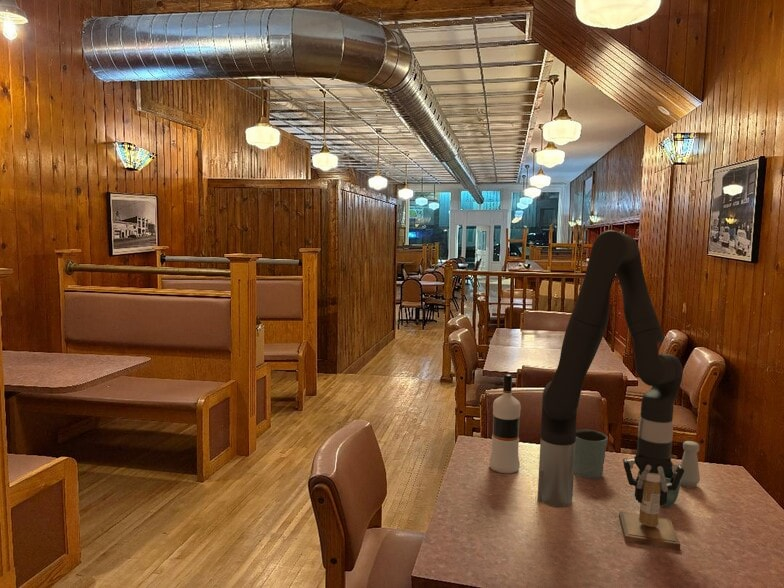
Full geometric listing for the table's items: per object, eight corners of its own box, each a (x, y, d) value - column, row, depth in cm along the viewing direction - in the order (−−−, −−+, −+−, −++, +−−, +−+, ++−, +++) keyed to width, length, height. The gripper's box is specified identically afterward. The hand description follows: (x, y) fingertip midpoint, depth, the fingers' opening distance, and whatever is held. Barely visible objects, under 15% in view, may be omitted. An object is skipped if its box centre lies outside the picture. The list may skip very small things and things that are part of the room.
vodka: (484, 463, 176) (487, 371, 173) (511, 460, 178) (515, 370, 175) (496, 476, 167) (500, 379, 164) (524, 473, 169) (529, 377, 166)
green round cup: (570, 476, 168) (572, 438, 166) (570, 463, 177) (572, 427, 176) (606, 481, 165) (609, 442, 163) (604, 467, 174) (606, 431, 173)
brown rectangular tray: (624, 541, 133) (625, 535, 133) (618, 516, 144) (619, 510, 144) (679, 550, 130) (680, 543, 130) (669, 524, 141) (669, 518, 141)
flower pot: (677, 498, 155) (679, 468, 154) (678, 513, 147) (681, 481, 146) (642, 492, 158) (645, 462, 157) (642, 505, 151) (644, 474, 149)
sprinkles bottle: (634, 518, 139) (638, 467, 137) (652, 517, 139) (655, 466, 138) (645, 528, 134) (648, 475, 133) (662, 527, 135) (666, 474, 133)
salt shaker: (703, 489, 160) (706, 446, 159) (683, 489, 161) (686, 446, 159) (692, 480, 166) (696, 438, 165) (673, 480, 166) (676, 438, 165)
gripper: (683, 433, 136) (678, 499, 138) (621, 427, 140) (617, 491, 142) (691, 445, 129) (685, 514, 131) (625, 438, 132) (620, 505, 135)
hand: (650, 502), depth 136 cm, fingers closed on sprinkles bottle, 4 cm apart
